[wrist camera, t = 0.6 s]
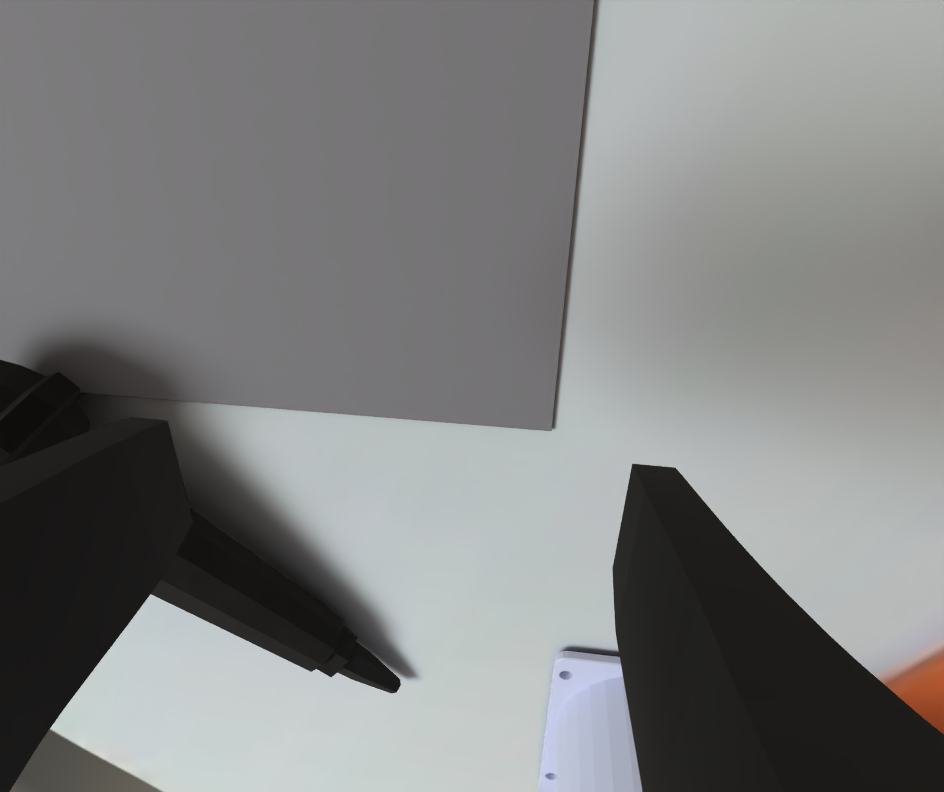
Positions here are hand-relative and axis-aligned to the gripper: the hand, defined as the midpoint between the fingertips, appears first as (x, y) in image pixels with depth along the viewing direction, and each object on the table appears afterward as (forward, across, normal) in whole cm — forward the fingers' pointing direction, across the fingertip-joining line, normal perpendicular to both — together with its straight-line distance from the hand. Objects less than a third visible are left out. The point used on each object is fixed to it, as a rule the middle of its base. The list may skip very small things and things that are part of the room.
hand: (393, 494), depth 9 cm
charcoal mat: (+9, +10, -3) cm, 14 cm away
